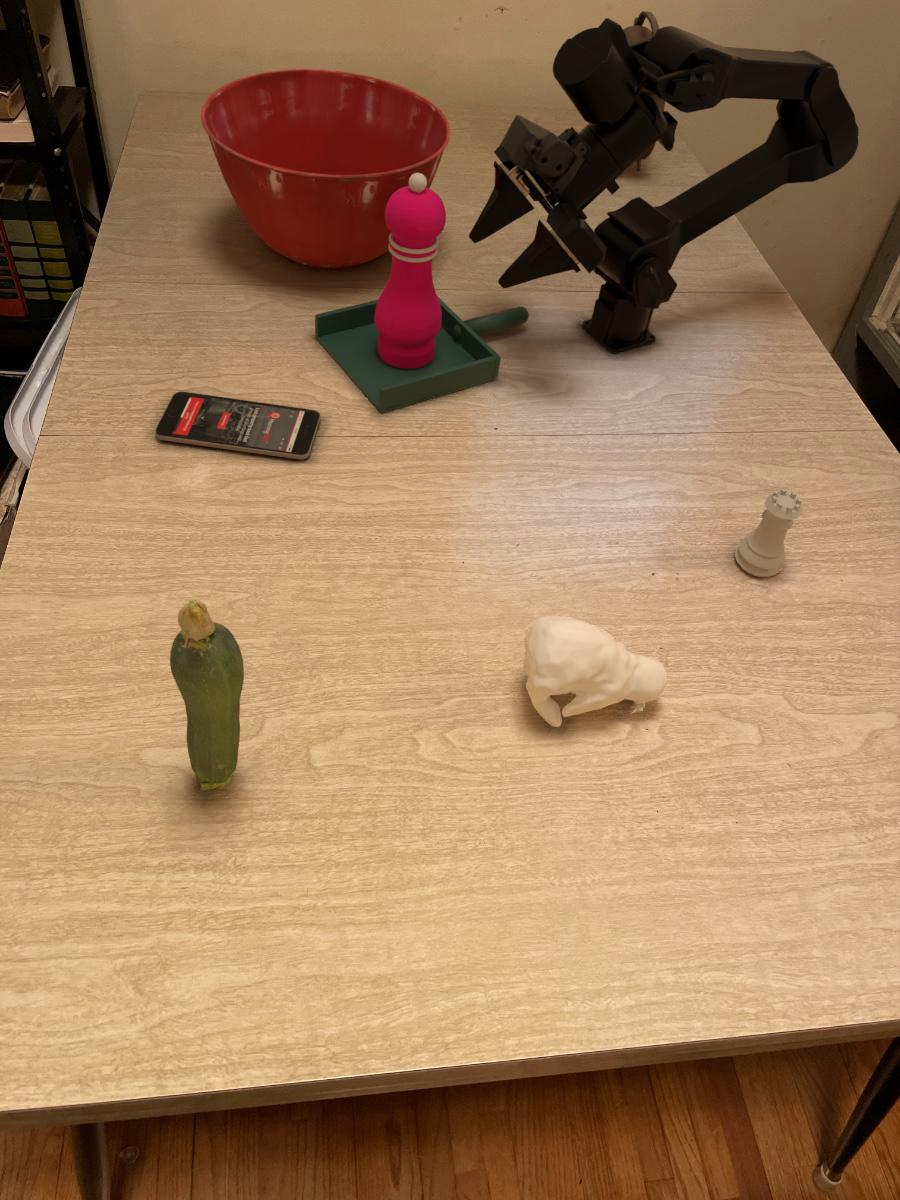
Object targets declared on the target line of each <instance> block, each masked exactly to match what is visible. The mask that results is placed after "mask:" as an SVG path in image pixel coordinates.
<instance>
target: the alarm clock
mask: <svg viewBox="0 0 900 1200" xmlns="http://www.w3.org/2000/svg"><path fill="white" fill-rule="evenodd" d="M645 20H647V21H648V22H649V25H650V28H649V27H646V26H645V25H644V23H645ZM643 25H644V26H643ZM622 29H623V31H624V32H625V34H626V38H627V42H628V44H632V43H635V42H638V41H642V40H645V39H648V38H652V37H653V36H654V35H655V34H656V32H657V30H658V29H660V25H659V21H658V19H657V18H656V16H655V15H654V13H653V12H651V11H645V10H642V11H641V12H640V13H639V15H638V17H635V18H634V20H633V25H630V26H626V27H625V28H622ZM639 93H643V94H647V95H649V96H651V97H652V98H653V99H654V100H655V102H656V104H657V105H658V107H659V109H660V110H661V112H663V111H665V106H666V102H665V101H664V100H662V99H661V98H659V97H657V96H656V95H654V94H653V93H651V92H650V91H648V90H647V89H645V88H644V87H643V88H642V89H641V90H640V92H639ZM656 144H657V142H656V143H654V144H653V145H652V146H651V147H650V148H649V149H648V150H647V151H646V152H645V153H644V154H643V155H642V156H640V157H639V158H638V159H637V160H636V161H635V162H636V166H637V167H636V171H637V172H640V171H641V161H642V160H646V159H647V158H648V157H649V156H650V155H651V154H652V152H653V150H654V148H655V146H656Z"/></svg>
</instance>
